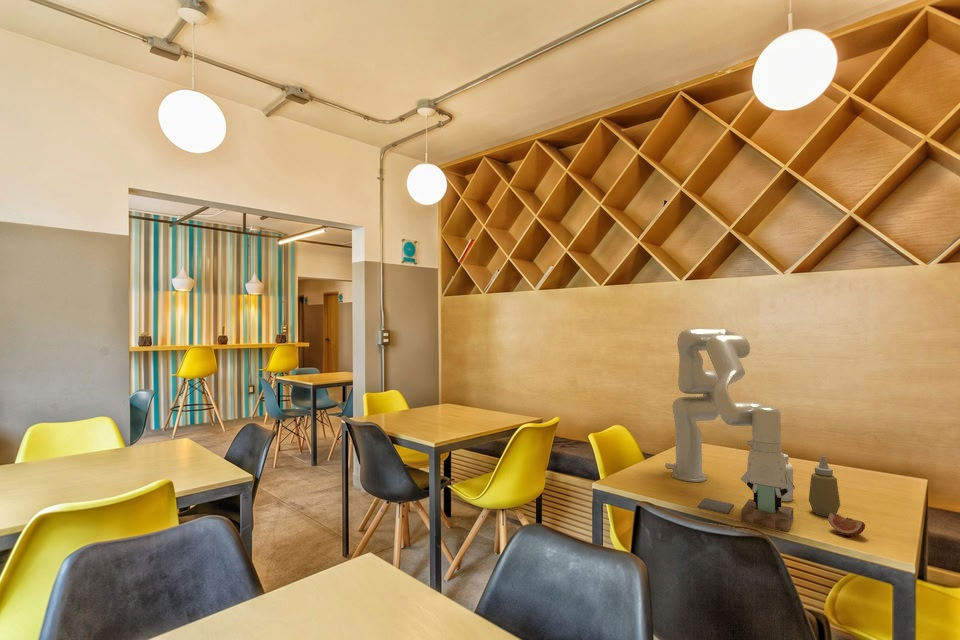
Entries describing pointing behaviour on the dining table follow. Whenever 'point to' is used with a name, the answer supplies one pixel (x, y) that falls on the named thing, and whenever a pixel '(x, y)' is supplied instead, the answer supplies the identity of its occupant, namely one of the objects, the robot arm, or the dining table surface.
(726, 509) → the rubber mat
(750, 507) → the pocket base
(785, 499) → the pill bottle
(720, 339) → the robot arm
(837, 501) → the squeeze bottle
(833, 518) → the fruit slice
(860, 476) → the dining table surface
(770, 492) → the teal block
